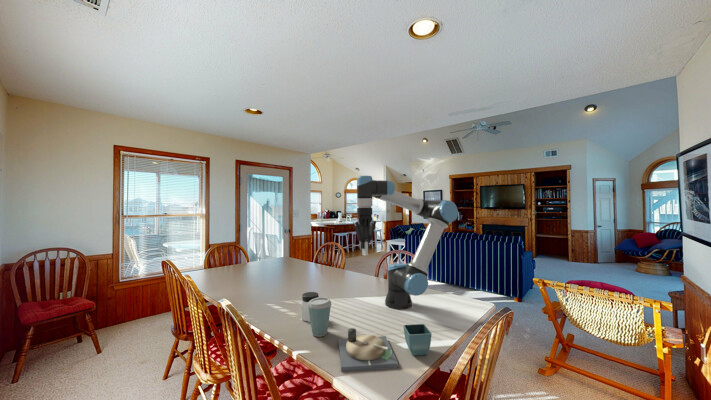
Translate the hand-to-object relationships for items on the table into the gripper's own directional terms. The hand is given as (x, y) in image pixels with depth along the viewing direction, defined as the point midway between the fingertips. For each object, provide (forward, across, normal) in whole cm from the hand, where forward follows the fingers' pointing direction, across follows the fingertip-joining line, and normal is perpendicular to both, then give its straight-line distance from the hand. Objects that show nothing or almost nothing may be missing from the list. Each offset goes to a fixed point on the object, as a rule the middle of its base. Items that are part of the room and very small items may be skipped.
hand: (365, 255), depth 135 cm
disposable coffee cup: (+33, +24, -2) cm, 41 cm away
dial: (+31, +18, +24) cm, 43 cm away
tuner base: (+32, +18, +23) cm, 44 cm away
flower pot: (+33, +1, +34) cm, 47 cm away
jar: (+33, +20, -20) cm, 43 cm away
